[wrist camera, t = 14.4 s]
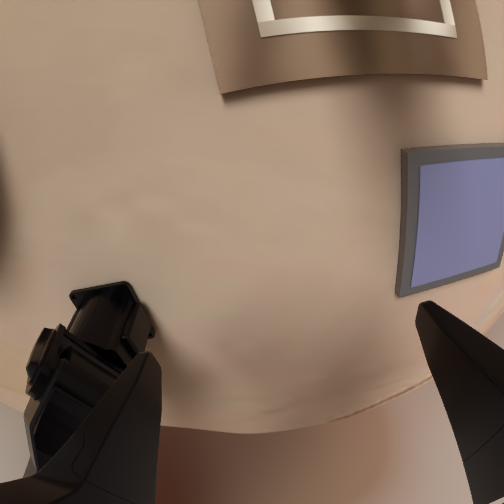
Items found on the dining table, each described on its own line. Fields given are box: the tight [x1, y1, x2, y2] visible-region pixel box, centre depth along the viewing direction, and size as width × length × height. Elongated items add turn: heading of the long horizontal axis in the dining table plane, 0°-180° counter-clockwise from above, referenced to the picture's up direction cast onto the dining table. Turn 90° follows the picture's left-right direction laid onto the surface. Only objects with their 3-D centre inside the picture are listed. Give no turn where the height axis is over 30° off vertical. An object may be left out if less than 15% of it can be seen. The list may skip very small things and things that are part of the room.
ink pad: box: [395, 143, 504, 298], centre depth 21 cm, size 13×13×1 cm
